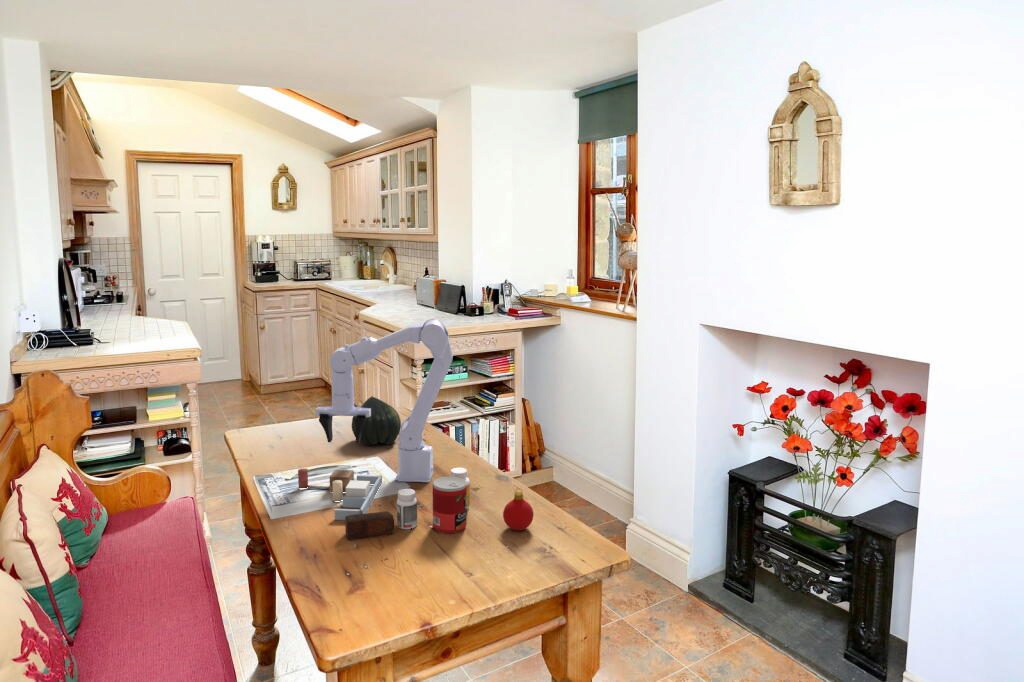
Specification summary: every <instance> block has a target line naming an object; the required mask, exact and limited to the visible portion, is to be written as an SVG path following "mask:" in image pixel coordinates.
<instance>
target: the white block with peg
mask: <svg viewBox="0 0 1024 682" xmlns="http://www.w3.org/2000/svg"><path fill="white" fill-rule="evenodd" d="M332 484H333V493H332V502H333V501H341V500H343V499H342V498H343V497H344V494H343V492H342V481H341V480H335V481H333V482H332ZM370 486H371V485H370V481H357V480H355V479H354V480H350V482H349V483H348V485H347V486H346V488H345V489H346V494H345V497H367V496H368V494H369V493H370Z"/></svg>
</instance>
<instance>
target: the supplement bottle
mask: <svg viewBox="0 0 1024 682" xmlns="http://www.w3.org/2000/svg"><path fill="white" fill-rule="evenodd" d="M450 477H459V478H462V479H464V480H465V481H466V482H467V510H469V508H470V505H471V504H470V503H471V502H470V501H471V499H470V498H471V497H470V496H471V493H470V491H471V484H470V483H471V480H470V479H469V477H468V469H466V468H464V467H454V468H452V469H451V470H450Z"/></svg>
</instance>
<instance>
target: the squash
mask: <svg viewBox="0 0 1024 682" xmlns="http://www.w3.org/2000/svg"><path fill="white" fill-rule="evenodd" d="M360 407H361V408H371V416H370V417H367V419H366V422H365V424H364V427H363V430H362V433H361V439H360V442H359V443H361V444H362V445H364V446H372V445H377V444H378V443H381V444H384V445H390V444H392V443H394V442H395V441H396V439H397V438H398V437H399V434H400V432H401V425H402V420H401V417H400V415H399V412H398V410H397V409H395V407H393V406H392V405H390V404H388V403H387V402H385V401H383V400H381V399H379V398H377V397H374V396H370V397H369V398H368V399H366V400H365V401H364V402H363V404H362V405H361V406H360ZM356 418H357V416H352V419H351V430H352V433H353V434H352V435H354V438H356V427H355V419H356Z"/></svg>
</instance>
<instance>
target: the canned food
mask: <svg viewBox="0 0 1024 682" xmlns="http://www.w3.org/2000/svg"><path fill="white" fill-rule="evenodd" d="M467 510H468V509H467V482H466V481H465V480H464V479H462V478H459V477H451V476H442V477H438V478H435V479H434V480H433V481H432V526H433V528H434V530H435V531H437V530H438V531H437V532H439V531H440V532H439V533H442V532H444V533H443V534H456V533H455V532H457V533H460V532H463V531H464V530H465V529H466V526H467V520H468V519H467V513H468V512H467ZM463 529H464V530H463ZM459 531H460V532H459Z"/></svg>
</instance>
